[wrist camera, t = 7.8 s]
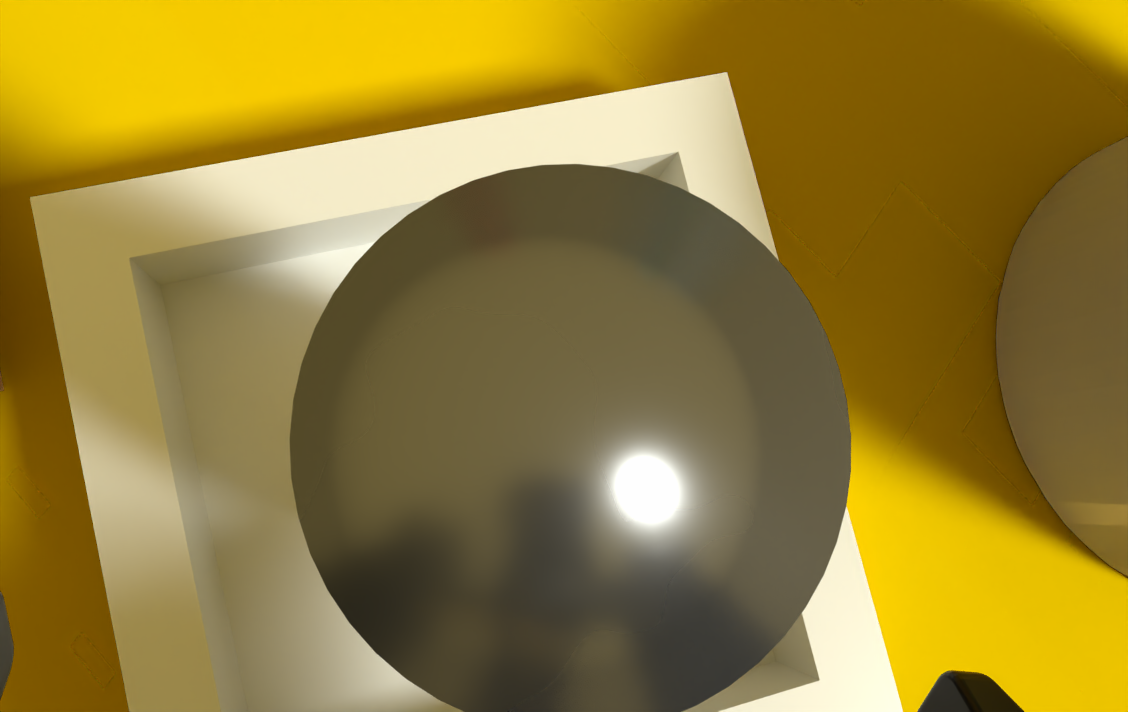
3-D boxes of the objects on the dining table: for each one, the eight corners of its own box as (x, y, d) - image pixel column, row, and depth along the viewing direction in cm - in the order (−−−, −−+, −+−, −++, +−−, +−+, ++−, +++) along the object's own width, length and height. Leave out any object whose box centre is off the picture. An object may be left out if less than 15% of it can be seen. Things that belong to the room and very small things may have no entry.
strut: (547, 606, 17) (791, 792, 6) (341, 555, 16) (210, 659, 6) (597, 403, 18) (895, 249, 7) (399, 350, 17) (382, 95, 6)
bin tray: (841, 703, 18) (908, 735, 16) (214, 898, 16) (179, 970, 14) (686, 126, 19) (727, 72, 17) (84, 240, 17) (29, 197, 15)
